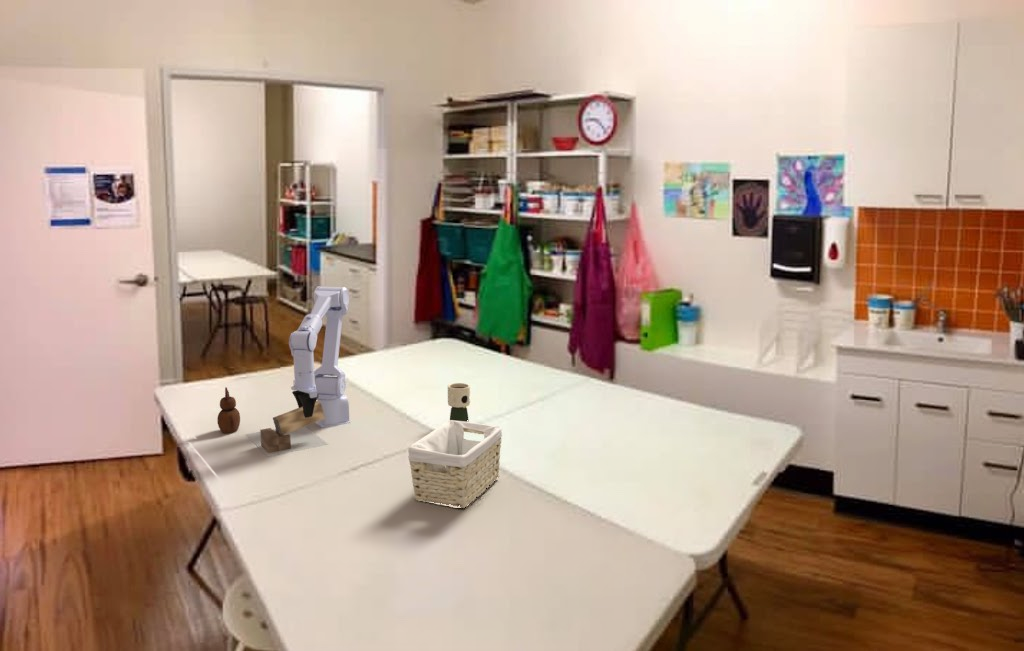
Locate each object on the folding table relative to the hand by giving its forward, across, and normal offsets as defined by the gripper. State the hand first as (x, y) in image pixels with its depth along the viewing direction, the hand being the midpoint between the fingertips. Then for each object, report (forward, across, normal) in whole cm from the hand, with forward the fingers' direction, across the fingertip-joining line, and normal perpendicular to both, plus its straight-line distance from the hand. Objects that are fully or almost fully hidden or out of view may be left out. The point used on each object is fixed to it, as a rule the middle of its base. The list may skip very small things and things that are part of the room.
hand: (306, 415), depth 235 cm
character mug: (+9, +11, +46) cm, 48 cm away
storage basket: (+9, +55, +19) cm, 59 cm away
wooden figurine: (+9, -22, -17) cm, 29 cm away
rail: (+3, 0, -2) cm, 3 cm away
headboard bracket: (+8, 0, -9) cm, 12 cm away
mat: (+8, -5, -5) cm, 11 cm away
